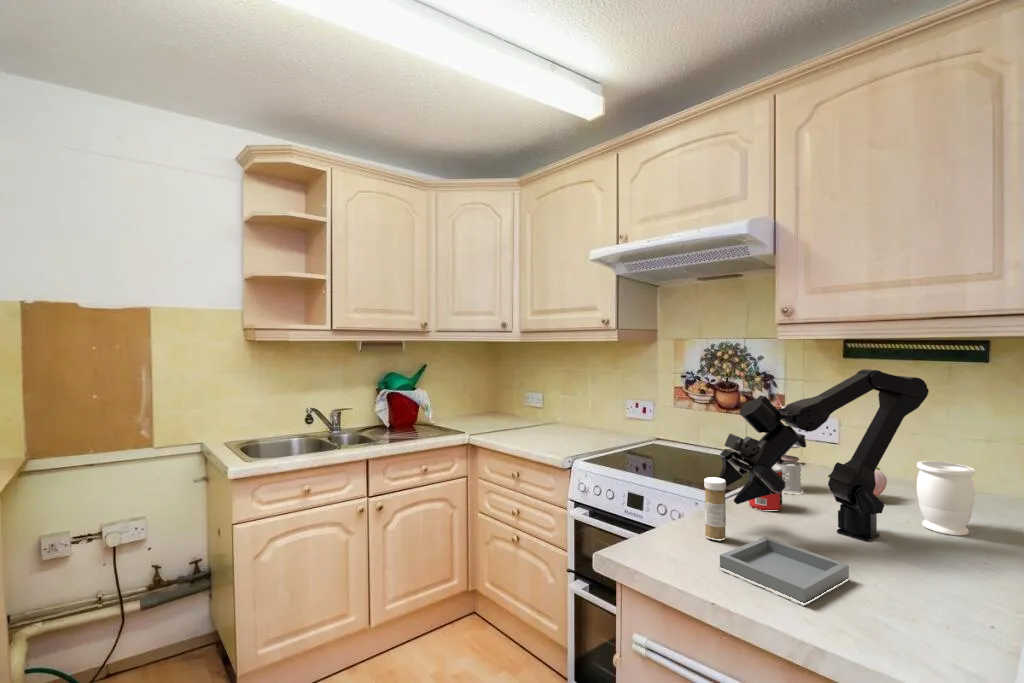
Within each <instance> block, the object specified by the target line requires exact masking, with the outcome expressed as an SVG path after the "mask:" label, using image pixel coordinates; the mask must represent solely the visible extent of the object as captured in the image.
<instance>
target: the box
mask: <svg viewBox="0 0 1024 683" xmlns="http://www.w3.org/2000/svg"><path fill="white" fill-rule="evenodd" d="M720 567H721V568H724V569H726V570H729V571H731V572H733V573H735V574H738V575H740V576H742V577H744V578H746V579H749V580H751V581H754V582H756V583H758V584H761V585H763V586H765V587H768V588H771V589H773V590H775V591H778V592H780V593H782V594H785V595H787V596H789V597H792V598H794V599H796V600H798V601H800V602H803V603H806V602H808V601H810V600H812V599H814V598H815V597H817V596H819V595H821V594H822V593H824V592H826V591H827V590H829V589H831V588H833V587H834V586H836V585H838V584H840V583H842V582H843V581H845V580H846V579H848V578H849V579H850V577H849V576H850V575H849V574H850V570H849V569H850V565H849V564H847V563H844V562H843V561H842V562H841V561H839V560H835V559H832V558H829V557H827V556H824V555H821V554H818V553H815V552H812V551H809V550H805V549H803V548H800V547H798V546H795V545H791V544H789V543H785V542H783V541H780V540H777V539H774V538H771V537H768V536H764V537H761V538H758V539H757V540H754V541H751V542H749V543H746V544H744V545H740V546H738V547H735V548H734V549H731V550H729V551H727V552H724V553H721V554H720V555H719V568H720Z"/></svg>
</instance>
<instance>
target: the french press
mask: <svg viewBox="0 0 1024 683" xmlns="http://www.w3.org/2000/svg"><path fill="white" fill-rule="evenodd" d="M785 406H786V405H783V406H782V407H781V408H785ZM784 425H785V426H787V424H786V423H785V422H784ZM799 448H802V447H801V446H798V445H795V444H794V445H793V446H792V447H791V448H790V449H799ZM781 459H782V460H783V461H784V462H783V463H782V464H778V463H776V464H775V465H777V466H779V467H781V468H782V479H783V480H784V481H785V489H784V490H783V491H782V492H784V493H801V492H803V491H804V490H803V488H802V486H801V485H802V483H801V482H802V479H801V471H802V468H801V467H802V466H801V465H802V464H801V463H800V462H798V461H799V460H800V458H799V457H798V456H794V455H789V454H788V455H787V453H786V454H785V455H784V456H783V457H782V458H781Z"/></svg>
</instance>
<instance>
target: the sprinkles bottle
mask: <svg viewBox="0 0 1024 683" xmlns="http://www.w3.org/2000/svg"><path fill="white" fill-rule="evenodd" d="M703 482H704V490H705V491H704V492H705V493H704V498H705V499H704V508H705V509H704V523H705V524H704V525H705V527H704V528H705V529H704V530H705V532H704V536H705V535H706V536H708V537H710V538H714V539H723V538H725V537H726V538H727V536H726V525H727V524H726V522H727V520H726V514H727V512H726V510H727V508H726V504H727V503H726V490H727V487H726V481H725V480H724V479H721V478H719V477H715V476H714V477H713V476H710V477H706V478H704V480H703Z"/></svg>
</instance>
